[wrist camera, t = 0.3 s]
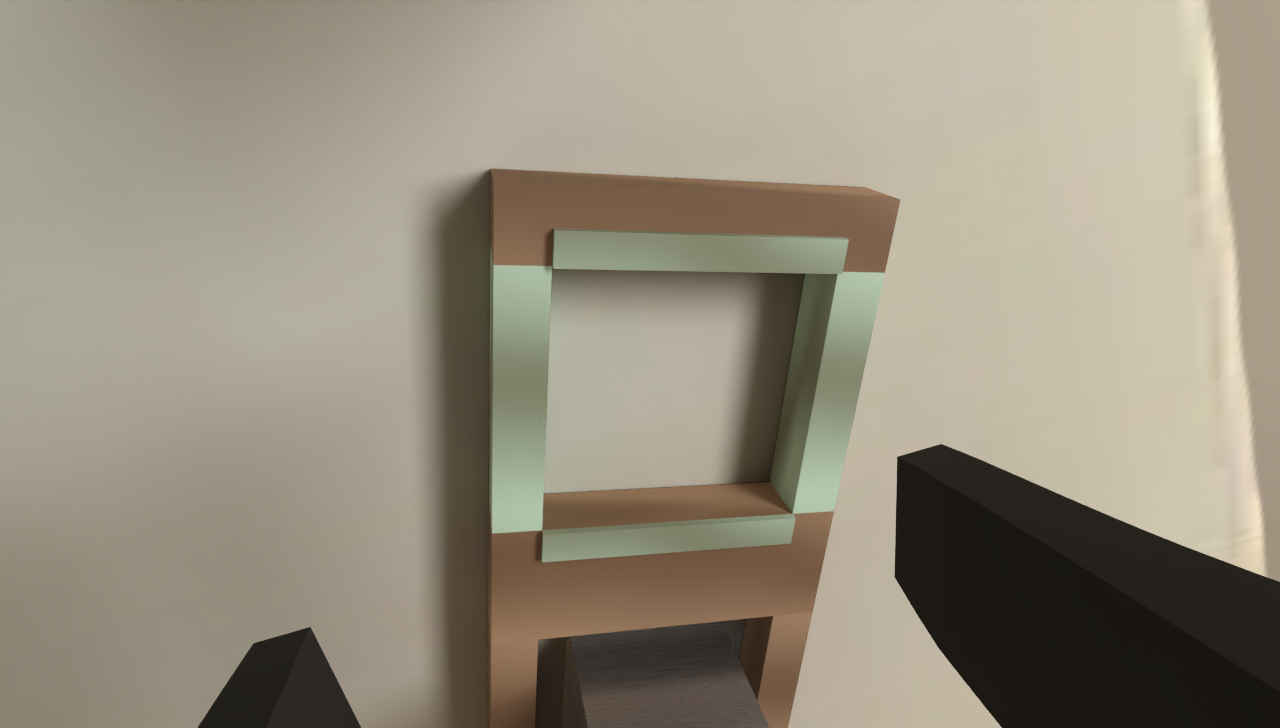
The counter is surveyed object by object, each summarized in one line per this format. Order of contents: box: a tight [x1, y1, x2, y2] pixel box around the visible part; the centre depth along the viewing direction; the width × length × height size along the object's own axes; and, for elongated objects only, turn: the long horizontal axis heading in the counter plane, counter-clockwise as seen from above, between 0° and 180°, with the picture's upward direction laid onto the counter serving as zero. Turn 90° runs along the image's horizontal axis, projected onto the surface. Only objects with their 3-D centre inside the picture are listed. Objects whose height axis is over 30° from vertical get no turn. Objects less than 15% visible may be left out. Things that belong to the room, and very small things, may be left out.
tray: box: [488, 169, 900, 728], centre depth 20 cm, size 20×9×2 cm, turn 175°
